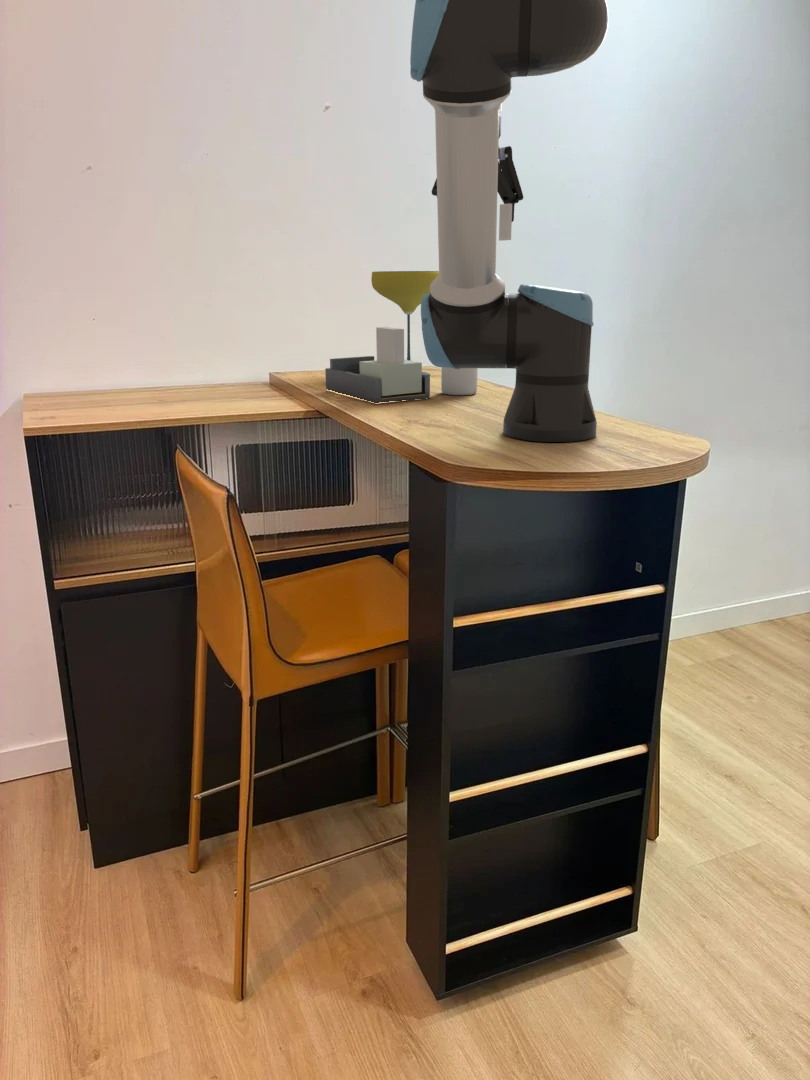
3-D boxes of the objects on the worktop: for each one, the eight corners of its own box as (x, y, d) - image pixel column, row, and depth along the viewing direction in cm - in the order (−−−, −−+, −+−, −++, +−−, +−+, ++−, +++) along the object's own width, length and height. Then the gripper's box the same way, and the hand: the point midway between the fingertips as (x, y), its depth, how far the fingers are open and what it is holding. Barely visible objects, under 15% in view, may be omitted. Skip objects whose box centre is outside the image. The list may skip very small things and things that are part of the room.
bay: (429, 398, 171) (429, 364, 169) (375, 404, 165) (375, 369, 162) (376, 386, 189) (376, 355, 187) (326, 391, 182) (325, 359, 180)
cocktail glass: (457, 373, 210) (458, 271, 202) (420, 381, 196) (421, 271, 188) (397, 369, 220) (397, 271, 212) (359, 377, 205) (356, 271, 197)
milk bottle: (478, 396, 174) (480, 298, 168) (441, 396, 175) (442, 298, 168) (475, 390, 182) (477, 296, 175) (440, 390, 182) (441, 296, 176)
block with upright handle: (421, 392, 170) (421, 328, 166) (381, 396, 165) (380, 330, 161) (398, 386, 177) (398, 325, 173) (360, 390, 173) (358, 327, 169)
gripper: (517, 125, 159) (513, 241, 165) (412, 110, 145) (412, 238, 151) (545, 118, 153) (539, 240, 159) (438, 102, 139) (437, 236, 145)
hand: (477, 239), depth 155 cm, fingers open, 13 cm apart
